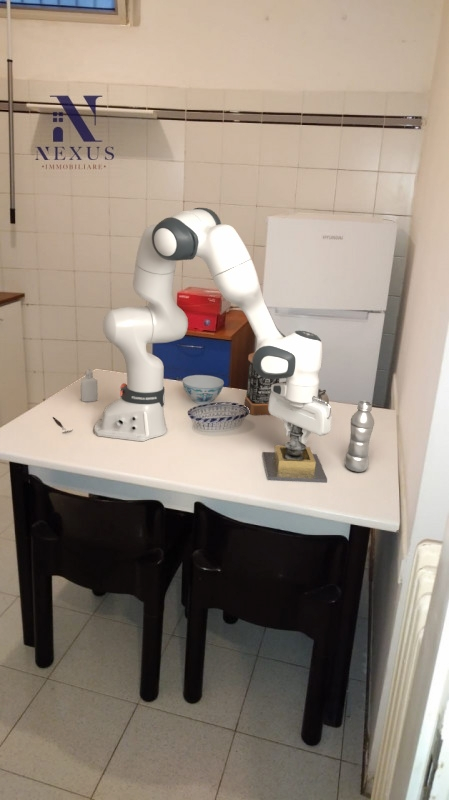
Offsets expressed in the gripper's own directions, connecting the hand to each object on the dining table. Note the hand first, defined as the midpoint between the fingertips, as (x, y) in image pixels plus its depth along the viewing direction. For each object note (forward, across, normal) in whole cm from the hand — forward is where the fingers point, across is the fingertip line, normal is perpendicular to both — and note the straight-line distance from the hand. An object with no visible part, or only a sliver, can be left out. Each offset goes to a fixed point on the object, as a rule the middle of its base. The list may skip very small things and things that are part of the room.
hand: (296, 439), depth 158 cm
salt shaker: (+6, 0, 0) cm, 6 cm away
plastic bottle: (+9, -10, -15) cm, 20 cm away
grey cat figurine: (+9, +23, -34) cm, 42 cm away
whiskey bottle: (+9, +39, -25) cm, 47 cm away
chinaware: (+9, +58, -13) cm, 60 cm away
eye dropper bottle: (+9, +79, +21) cm, 82 cm away
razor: (+9, +62, +40) cm, 74 cm away
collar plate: (+9, 0, 0) cm, 9 cm away
